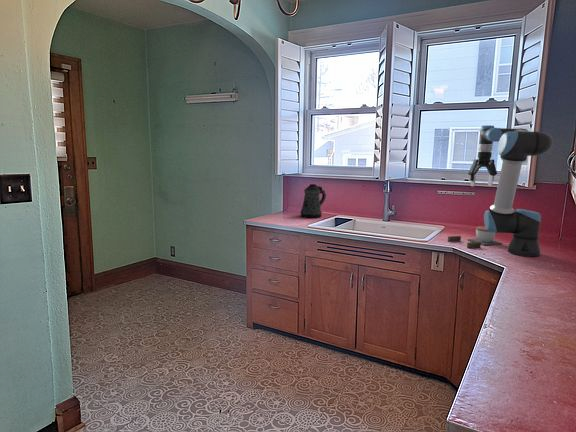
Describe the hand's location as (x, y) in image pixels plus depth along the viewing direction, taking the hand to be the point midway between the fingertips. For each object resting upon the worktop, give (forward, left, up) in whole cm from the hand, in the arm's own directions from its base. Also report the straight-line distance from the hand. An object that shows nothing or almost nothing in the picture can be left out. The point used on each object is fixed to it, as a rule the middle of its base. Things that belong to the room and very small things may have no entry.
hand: (481, 186), depth 246 cm
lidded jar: (-15, +8, -31) cm, 35 cm away
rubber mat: (-15, +8, -32) cm, 36 cm away
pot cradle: (-16, +24, -32) cm, 43 cm away
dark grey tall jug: (+88, +77, -32) cm, 121 cm away
